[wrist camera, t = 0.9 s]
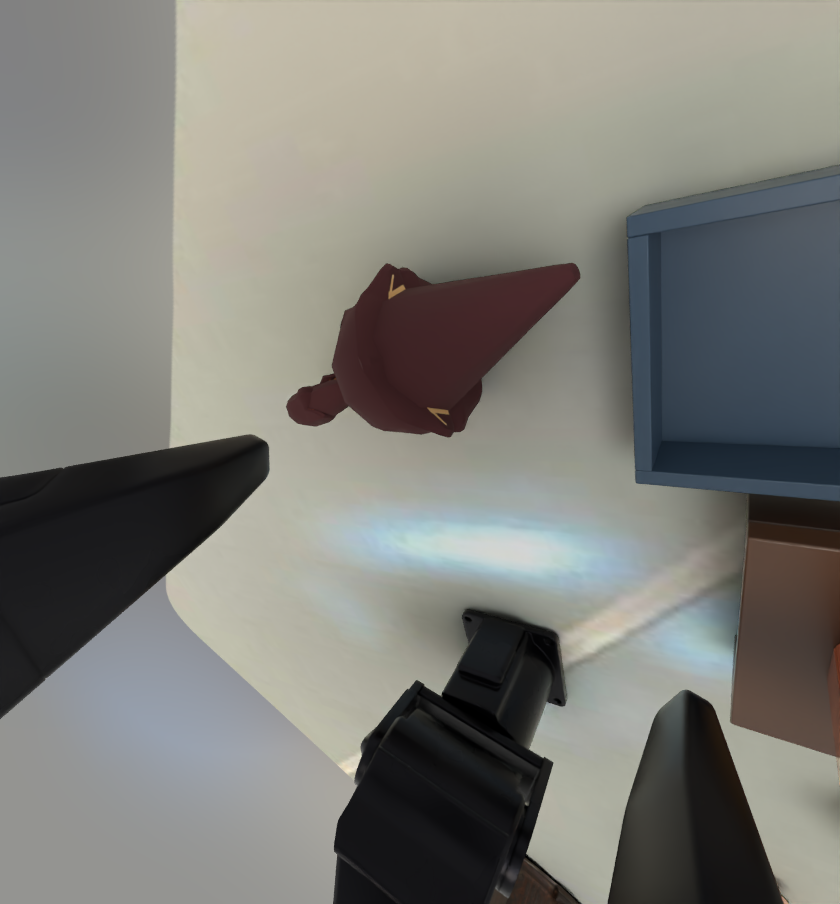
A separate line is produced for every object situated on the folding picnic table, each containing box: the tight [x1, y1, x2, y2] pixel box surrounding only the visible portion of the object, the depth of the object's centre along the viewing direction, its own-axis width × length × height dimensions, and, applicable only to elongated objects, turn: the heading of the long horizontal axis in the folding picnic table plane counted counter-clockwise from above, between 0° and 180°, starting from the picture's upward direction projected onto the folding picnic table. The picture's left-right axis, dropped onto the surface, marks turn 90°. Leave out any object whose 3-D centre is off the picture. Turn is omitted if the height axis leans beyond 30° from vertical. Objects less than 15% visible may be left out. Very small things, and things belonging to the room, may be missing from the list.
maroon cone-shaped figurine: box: [286, 263, 580, 437], centre depth 20 cm, size 7×7×15 cm
